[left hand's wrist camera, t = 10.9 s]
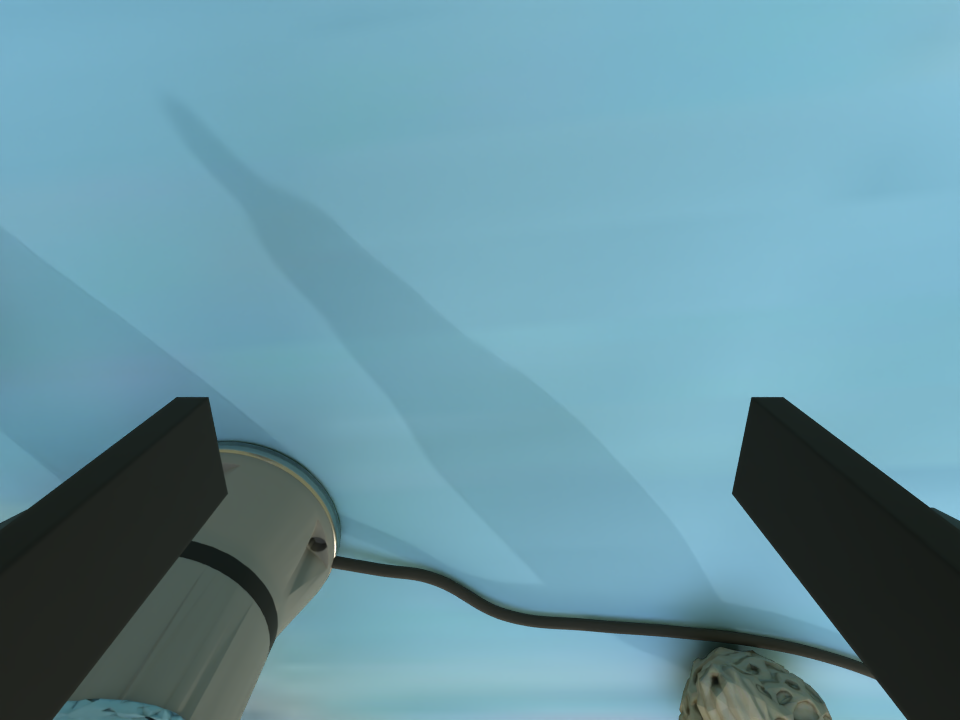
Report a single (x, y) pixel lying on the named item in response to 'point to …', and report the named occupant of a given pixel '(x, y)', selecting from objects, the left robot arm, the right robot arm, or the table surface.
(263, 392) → the table surface
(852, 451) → the left robot arm
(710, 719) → the teapot
